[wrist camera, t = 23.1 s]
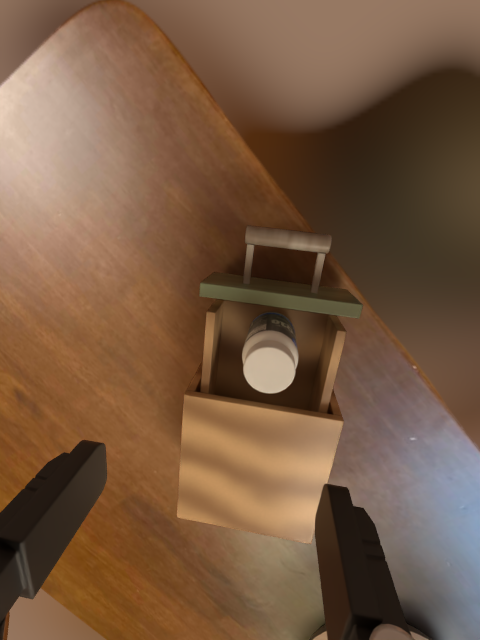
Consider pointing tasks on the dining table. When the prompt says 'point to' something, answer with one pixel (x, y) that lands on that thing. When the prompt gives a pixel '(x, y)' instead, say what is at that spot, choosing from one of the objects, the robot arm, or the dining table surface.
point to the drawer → (289, 300)
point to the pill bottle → (270, 353)
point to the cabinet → (254, 463)
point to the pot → (320, 636)
